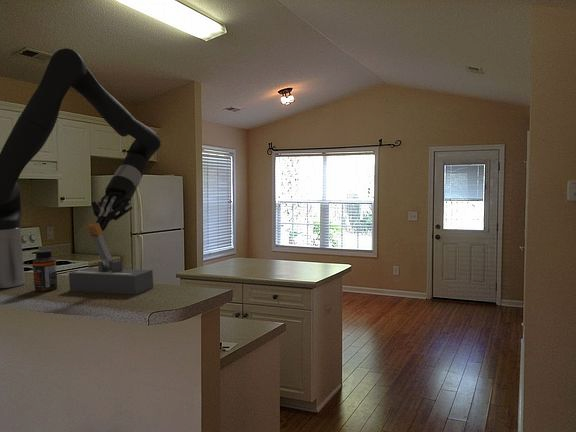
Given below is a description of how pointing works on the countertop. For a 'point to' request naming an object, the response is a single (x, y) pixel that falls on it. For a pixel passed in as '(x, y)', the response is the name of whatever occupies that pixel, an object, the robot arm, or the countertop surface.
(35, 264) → the supplement bottle
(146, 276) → the block
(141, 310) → the countertop surface
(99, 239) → the lever
